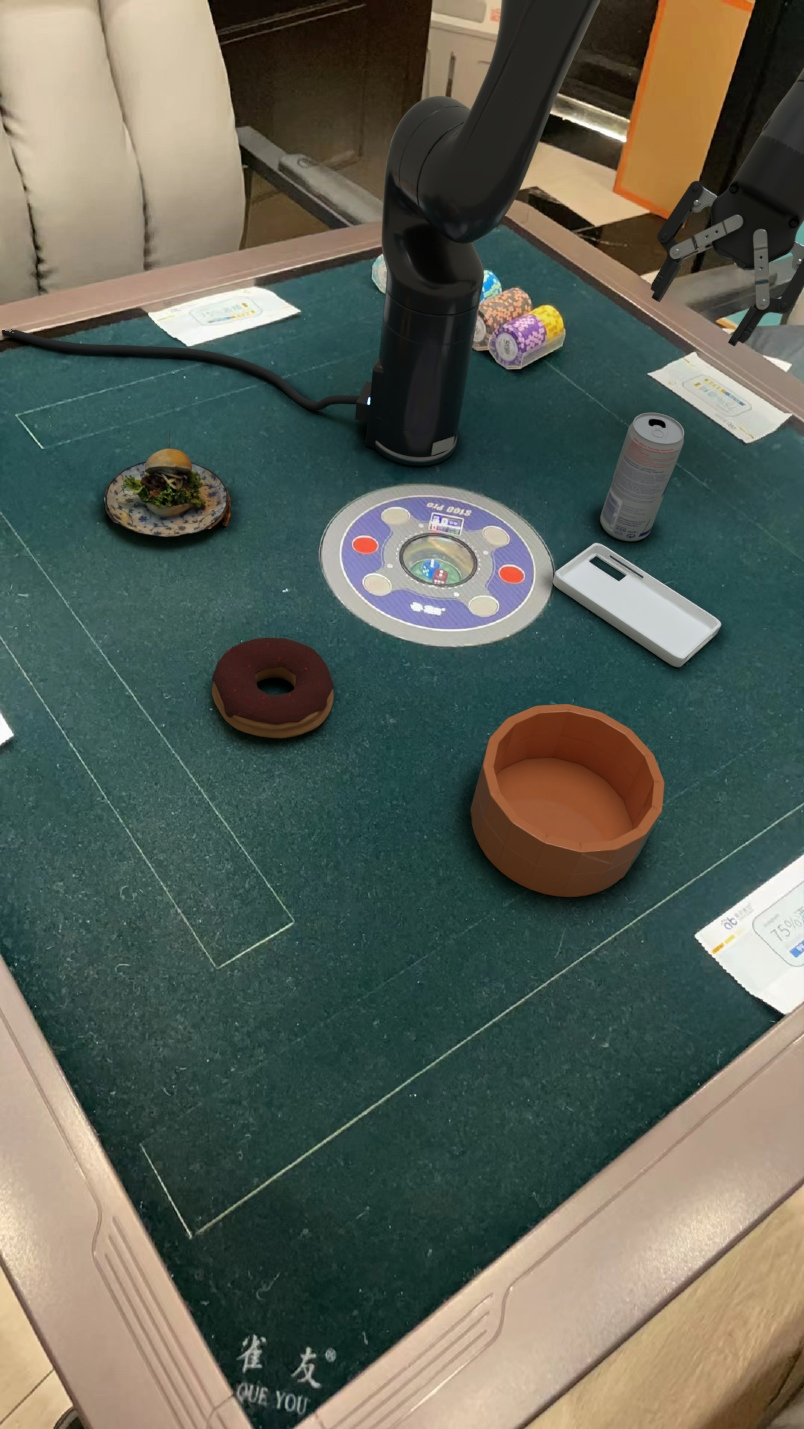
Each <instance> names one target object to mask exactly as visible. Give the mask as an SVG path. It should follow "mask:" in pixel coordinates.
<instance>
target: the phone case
mask: <svg viewBox="0 0 804 1429" xmlns="http://www.w3.org/2000/svg"><path fill="white" fill-rule="evenodd" d="M595 557H596V558H598V559H599V560H601V561H603V562H604V563H605V564H607V565H609V566H610V567H612V568H613V569H615V570H616V571H618V572H619V573H621V574H622V575H624V577H623V578H622V579H620V580H617V579H616V578H614V577H613V576H611V575H610V574H608V573H606V571H603V569H600V568H599V567H597V566H596V565H595V564H594V563H592V562H591V561H592V560H593V559H594V558H595ZM616 560H617V561H616ZM618 561H619V562H618ZM624 565H625V566H624ZM626 566H627V567H628V568H627V567H626ZM641 576H642V577H641ZM552 584H553V585H554V586H555V587H556V588H557V589H558V590H559V591H561V592H562V593H564V594H565V595H567V596H568V597H570V598H571V599H573V600H574V601H576V602H577V603H579V604H580V605H582V606H583V607H585V608H586V609H587V610H589V611H591V612H592V613H593V614H595V615H596V616H598V617H600V618H601V619H602V620H604V621H605V622H607V623H608V624H610V626H613V627H614V628H616V629H617V630H618V631H620V632H622V633H623V634H624V635H626V636H627V637H629V638H630V639H632V640H633V641H634V642H636V643H638V644H639V645H641V646H642V647H644V648H645V649H646V650H648V651H649V652H651V653H652V654H654V655H655V656H657V657H658V658H660V659H661V660H663V661H664V662H666V663H667V664H669V665H670V666H672V667H675V668H681V667H682V666H683V665H684V664H686V663H687V662H688V661H689V660H690V659H691V658H693V657H694V656H695V655H696V654H697V653H698V652H699V651H700V650H701V649H702V648H704V647H705V645H707V644H708V643H709V642H710V641H711V640H713V638H714V637H716V635H718V633H719V630H720V628H721V626H722V622H721V621H720V620H719V619H718V618H717V617H716V616H714V615H713V614H711V613H709V612H708V611H707V610H705V609H704V608H701V607H700V606H699V605H697V604H696V603H694V602H693V601H691V600H689V599H688V598H686V597H685V596H683V595H681V594H680V593H678V592H677V591H675V590H674V589H673V588H671V587H669V586H667V585H666V584H664V583H663V582H661V581H660V580H658V579H657V578H655V577H654V576H653V575H650V574H649V573H647V572H646V571H644V570H643V569H641V568H640V567H638V566H637V565H635V564H634V563H632V562H630V561H629V560H627V559H626V558H625V557H622V556H621V555H620V554H618V553H616V552H615V551H614V550H612V549H610V548H609V547H607V546H606V545H603V544H602V543H599V542H594V543H592V544H591V545H590V546H588V547H586V549H584V550H583V551H581V552H580V553H579V554H577V555H576V556H574V557H573V558H572V559H570V560H569V561H568V562H567V563H565V564H564V565H563V566H561V567H560V568H559V569H557V570H556V571H555V572H554V575H553V579H552Z"/></svg>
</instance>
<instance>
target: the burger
mask: <svg viewBox="0 0 804 1429" xmlns="http://www.w3.org/2000/svg"><path fill="white" fill-rule="evenodd" d="M170 441H171V428H169V429H168V448H164V449H160V450H158V451H156V452H154V453H152V454H151V455H150V456H149V457H148V459H147V460H146V461H142V462H138V463H135V464H133V465H131V466H128V467H126V468H124V469H123V470H120V472H118V474H116V476H115V477H113V478H112V479H111V480H110V481H109V483H108V485H107V487H106V489H105V493H104V498H103V501H104V504H105V505H104V514H105V516H107V515H108V517H109V518H110V519H111V521H112V522H113V523H116V524H118V525H121V526H122V527H124V528H125V529H127V530H129V531H130V532H135V533H139V534H141V535H147V536H149V535H150V536H155V537H163V538H173V537H180V536H183V535H188V534H195V533H199V532H201V531H205V530H210V529H212V528H213V527H215V526H217V525H218V524H219V522H220V521H221V525H222V526H223V527H228V524H229V520H230V519H231V510H232V509H231V497H230V494H229V490H228V488H227V485H226V484H225V483H224V481H223V480H222V479H221V477H219V476H218V475H217V474H216V473H215V472H214V471H213V470H211V469H209V468H207V467H206V466H205V467H204V466H203V465H200V464H198V463H195V462H193V461H191V459H190V457H189V456H188V455H187V454H186V453H185V452H184V451H182V450H180V449H175V448H170V446H171V445H170Z"/></svg>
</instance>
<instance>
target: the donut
mask: <svg viewBox="0 0 804 1429" xmlns="http://www.w3.org/2000/svg"><path fill="white" fill-rule="evenodd" d="M330 672H331V671H330V670H329V667H328V665H327V663H326V662H325V661H324V659H323V658H322V656H321V655H320V654H319V653H318V652H317V651H316V650H315V649H314V648H312V647H311V646H310V645H309V646H308V645H306V644H305V643H302V642H300V641H299V642H298V641H295V640H292V639H289V638H286V637H258V638H254V639H250V640H245V641H243V642H240V643H238V644H235V645H234V646H231V648H230V649H227V650H226V652H224V654H222V656H221V658H219V660H218V661H217V664H216V666H215V668H214V671H213V674H212V677H211V678H212V679H211V681H213V684H212V688H211V693H212V694H211V695H212V699H213V702H214V704H215V706H216V707H217V709H218V711H219V713H220V714H221V716H222V718H223V719H224V720H225V721H226V723H228V724H229V725H230V726H231V727H233V728H235V729H236V730H238V731H240V732H243V733H245V734H247V735H248V734H249V735H252V736H256V737H261V738H271V739H285V738H286V739H287V738H292V737H298V736H301V735H304V734H306V733H308V732H311V731H313V730H315V729H317V728H318V727H319V726H320V725H321V724H323V723H324V722H325V720H326V719H327V718H328V716H329V714H330V713H331V710H332V707H333V705H334V704H333V703H334V698H335V696H334V689H335V686H334V682H333V679H332V676H331V675H332V674H331V673H330ZM272 678H273V679H274V678H275V679H282V680H284V681H287V682H288V683H290V684H291V685H292V686H293V690H291V691H289V692H286V693H280V694H268V693H266V692H264V691H263V690H261V689H259V686H258V683H259V682H261V681H263V680H268V679H272Z"/></svg>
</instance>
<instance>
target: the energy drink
mask: <svg viewBox="0 0 804 1429" xmlns="http://www.w3.org/2000/svg"><path fill="white" fill-rule="evenodd" d="M684 437H685V429H684V427H683V426H682V425H681V423H680V422H679V421H677V419H675V418H673V417H672V416H669V415H666V414H663V413H658V412H644V413H641V414H638V415H637V416H635V417H634V419H633V421H632V422H631V424H630V425H629V427H628V429H627V432H626V435H625V438H624V442H623V444H622V448H621V451H620V454H619V456H618V460H617V463H616V466H615V469H614V472H613V475H612V478H611V482H610V485H609V488H608V491H607V495H606V496H605V501H604V503H603V507H602V510H601V513H600V516H599V521H600V524H601V527H602V528H603V530H604V531H605V532H606V533H607V534H608V535H609V536H611V537H612V538H615V539H617V540H620V541H624V542H638V541H640V540H642V539H645V538H646V537H648V536H649V535H650V533H651V531H652V528H653V526H654V523H655V520H656V518H657V515H658V512H659V510H660V507H661V504H662V501H663V499H664V496H665V494H666V491H667V488H668V486H669V483H670V480H671V477H672V475H673V472H674V469H675V467H676V464H677V462H678V459H679V457H680V454H681V451H682V448H683V445H684V443H685V442H684V441H685V438H684Z"/></svg>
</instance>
